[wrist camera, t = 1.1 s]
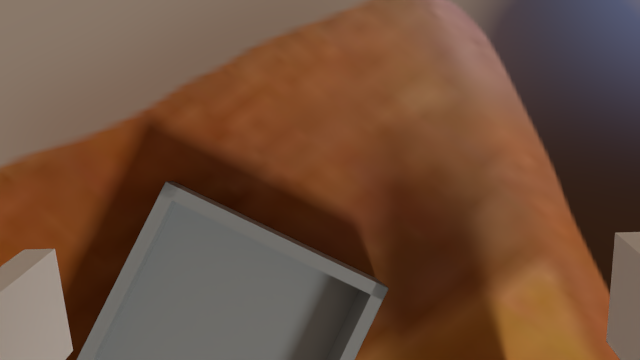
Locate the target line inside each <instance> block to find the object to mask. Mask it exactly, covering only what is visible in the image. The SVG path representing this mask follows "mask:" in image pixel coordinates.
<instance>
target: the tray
mask: <svg viewBox="0 0 640 360" xmlns="http://www.w3.org/2000/svg"><path fill="white" fill-rule="evenodd" d="M387 290H388V288H387V287H386V286H385V285H384V284H382V283H381V282H380V281H379V280H378V279H376V278H374V277H372V276H370V275H368V274H366V273H364V272H362V271H360V270H358V269H356V268H354V267H351V266H349V265H347V264H345V263H343V262H341V261H339V260H337V259H335V258H333V257H331V256H329V255H326V254H324V253H322V252H320V251H318V250H316V249H314V248H312V247H310V246H308V245H306V244H303V243H301V242H299V241H297V240H295V239H293V238H291V237H289V236H287V235H285V234H283V233H280V232H278V231H276V230H274V229H272V228H270V227H268V226H266V225H264V224H262V223H260V222H258V221H255V220H253V219H251V218H249V217H247V216H245V215H243V214H241V213H239V212H237V211H235V210H232V209H230V208H228V207H226V206H224V205H222V204H220V203H218V202H216V201H214V200H212V199H209V198H207V197H205V196H203V195H201V194H199V193H197V192H195V191H193V190H191V189H189V188H187V187H184V186H182V185H180V184H178V183H176V182H174V181H168V182H165V184H164V186H163V188H162V190H161V192H160V194H159V196H158V198H157V200H156V202H155V204H154V206H153V208H152V210H151V212H150V214H149V216H148V218H147V220H146V222H145V224H144V226H143V228H142V230H141V232H140V234H139V236H138V238H137V240H136V242H135V244H134V246H133V248H132V250H131V252H130V254H129V256H128V258H127V260H126V262H125V264H124V266H123V268H122V270H121V272H120V274H119V276H118V278H117V280H116V282H115V284H114V286H113V288H112V290H111V292H110V294H109V296H108V298H107V300H106V302H105V304H104V306H103V308H102V310H101V312H100V314H99V316H98V318H97V320H96V322H95V324H94V326H93V328H92V330H91V332H90V334H89V336H88V338H87V340H86V342H85V344H84V346H83V348H82V350H81V352H80V354H79V356H78V358H77V360H354V359H355V357H356V355H357V353H358V351H359V349H360V347H361V345H362V343H363V341H364V338H365V336H366V334H367V332H368V330H369V328H370V326H371V324H372V322H373V320H374V318H375V315H376V313H377V311H378V309H379V307H380V305H381V303H382V301H383V299H384V297H385V295H386V292H387Z"/></svg>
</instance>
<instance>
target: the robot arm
mask: <svg viewBox="0 0 640 360" xmlns="http://www.w3.org/2000/svg"><path fill="white" fill-rule="evenodd" d="M606 341H607V343H608V344H609V345H610V347H611V348H612V349H613V351H614V352H615V353H616V355H617V356H618V357H619V358H620V360H640V232H626V233H615V243H614V255H613V267H612V279H611V291H610V303H609V315H608V327H607V339H606ZM72 351H73V347H72V342H71V336H70V330H69V325H68V319H67V314H66V308H65V303H64V297H63V291H62V286H61V280H60V275H59V269H58V264H57V258H56V252H55V249H33V250H23V251H22V252H20V253H19V254H18V255H16V256H15V257H13V258H12V259H11V260H9V261H8V262H7V263H5V264H4V265H2V266H1V267H0V360H66V358H67V357H68V356H69V355H70V354H71V352H72Z"/></svg>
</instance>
